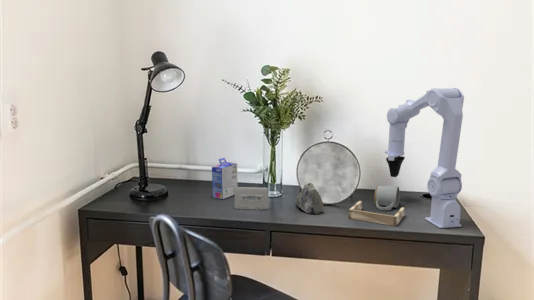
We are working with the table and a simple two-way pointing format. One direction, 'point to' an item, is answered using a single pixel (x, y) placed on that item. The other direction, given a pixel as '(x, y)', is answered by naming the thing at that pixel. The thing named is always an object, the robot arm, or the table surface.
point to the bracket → (375, 215)
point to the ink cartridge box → (224, 179)
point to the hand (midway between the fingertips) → (394, 176)
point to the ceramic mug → (386, 197)
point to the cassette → (251, 203)
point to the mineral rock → (310, 200)
